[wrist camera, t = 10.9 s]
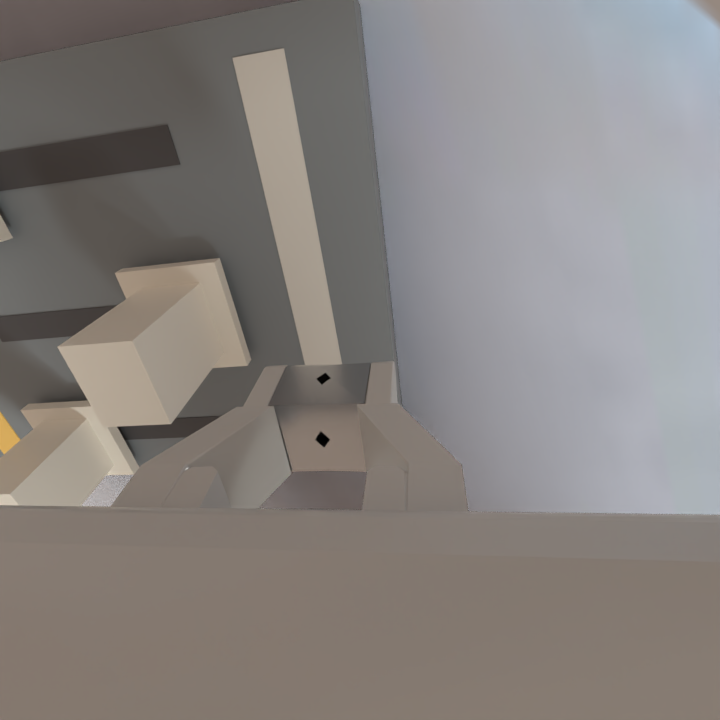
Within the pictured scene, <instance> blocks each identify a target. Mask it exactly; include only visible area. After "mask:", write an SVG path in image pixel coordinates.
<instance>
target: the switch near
mask: <svg viewBox="0 0 720 720" xmlns="http://www.w3.org/2000/svg"><path fill="white" fill-rule="evenodd" d="M12 238H13V237H12V235H11V233H10V232H9V230H8V228H7V226H6V224H5V223H4V221H3V219H2V217H1V215H0V242H3V241H6V240H9V239H12Z"/></svg>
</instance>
